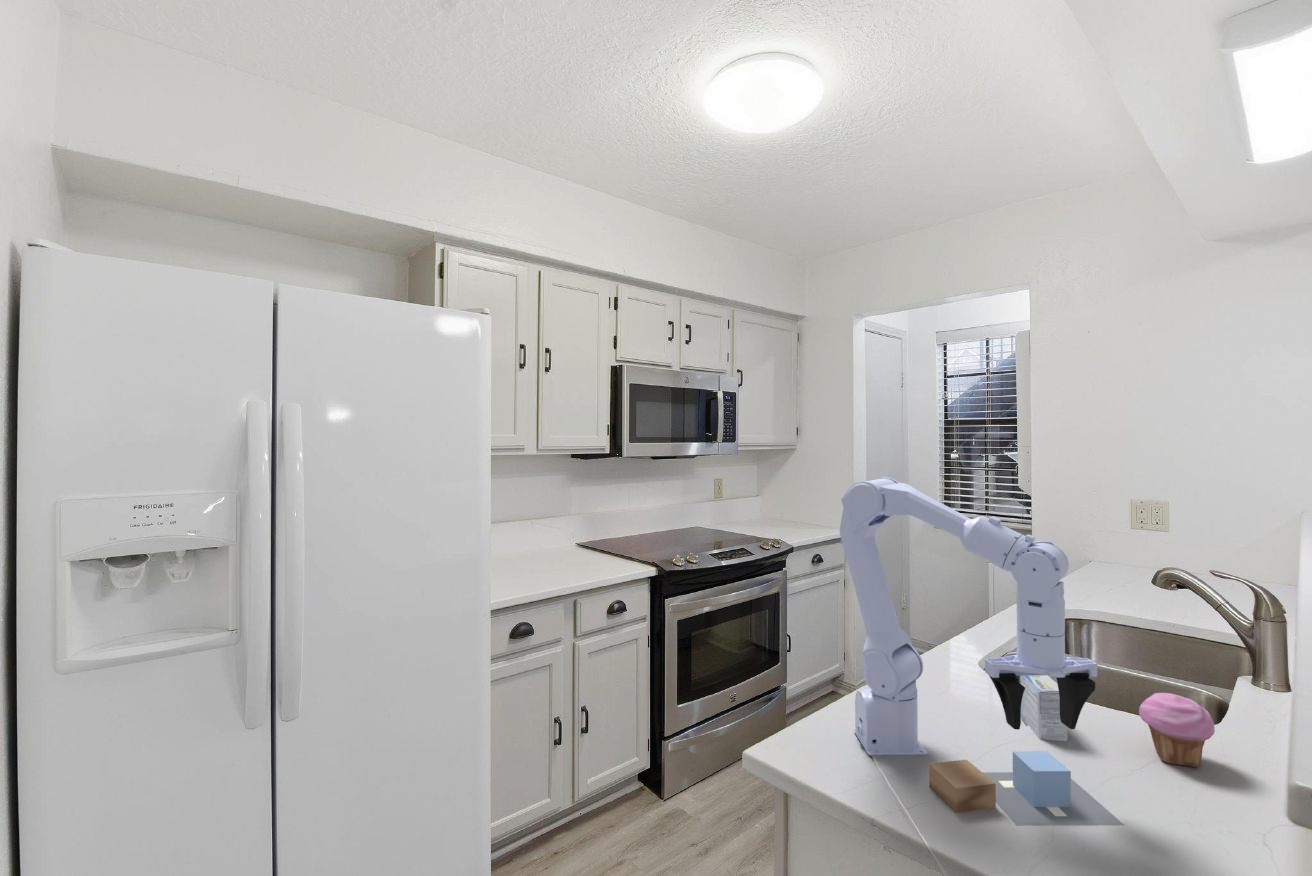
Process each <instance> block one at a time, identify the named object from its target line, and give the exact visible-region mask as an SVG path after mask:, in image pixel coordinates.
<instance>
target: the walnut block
mask: <svg viewBox="0 0 1312 876" xmlns="http://www.w3.org/2000/svg"><path fill="white" fill-rule="evenodd" d="M928 780H929V781H928V784H929V785H928V786H929V787H928V788H930V790H932V791H933V792H934V793H935V794H936V795H937V796H938V797H939V799H941V800H942V801H944V803H945V804H947V806H948V807H949V808H951V810H952V811H954V813H957V814H958V813H964V812H965V813H966V812H972V811H973V812H974V811H980V810H987V809H988V810H989V809H996V807H997V806H996V805H997V803H996V783H994V782H993V781H992V780H991V779H990V778H988V777H987V776H986V775H985V774H984V773H982V771H981V770H980V769H979V768H977V767H976V766H975V765H974V764H972V763H971V762H970V761H969V760H968V759H960V760H959V759H958V760H950V761H949V760H948V761H940V762H933V763H932V762H930V763H928Z"/></svg>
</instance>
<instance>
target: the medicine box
mask: <svg viewBox="0 0 1312 876" xmlns="http://www.w3.org/2000/svg"><path fill="white" fill-rule="evenodd" d="M1019 680H1020V681H1019V683H1020V684H1021V685H1023V686H1024V687H1025V690H1024V693H1023V697H1022V702H1021V721H1023V723H1025V725H1026V726H1027V727H1029V728H1030V730H1031V731H1032V732H1033V733H1034V735H1035V736H1036V737H1037V738H1038V739H1039V740H1045V741H1057V742H1058V741H1059V742H1068V740H1069V739H1068V738H1069V737H1068V727H1067V726H1066V725H1064V724H1063V723H1062V722H1061V719H1060V697H1059V689H1058V684H1057V681H1054V680H1053V678H1052V677H1050V676H1048V675H1022V676H1020V677H1019Z"/></svg>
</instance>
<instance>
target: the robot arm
mask: <svg viewBox="0 0 1312 876" xmlns="http://www.w3.org/2000/svg"><path fill="white" fill-rule="evenodd" d="M840 501H841V504H842V507H843V508H842V514H841V520H840V523H839V535H840V540H841V544H842V547H843V549H844V554H845V557H846V562H847V565H848V569H849V572H850V576H851V579H852V582H853V587H854V590H855V594H856V597H857V602H858V604H859V607H860V608H859V609H860V613H861V616H862V619H863V623H864V626H865V631H866V634H867V635H866V639H865V643H864V646H863V648H862V649H863V650H862V654H863V658H864V666H863V679H864V680H865V683H866V685H867V686H868V687H867V688H865V689H860V690H859V689H858V690H857V691H856V692H855V697H854V704H855V705H854V706H855V709H854V711H855V714H854V715H855V717H854V718H855V719H854V720H855V724H854V725H855V728H854V730H853V731H854V735H855V736H856V737H857V738H858V740H859V741H860V743H861V745H862V747H863V748H864V750H865V751H866V753H867V755H868V756H871V757H873V756H915V755H918V756H920V755H921V756H923V755H924V756H926V755H928V754H929V752H928V751H927V749H926V748H925V747H924V746H923V744H922V743H921V742H920V741H919V736H918V735H919V733H918V732H919V731H918V730H919V727H918V723H919V722H918V719H919V717H918V711H919V710H918V688H917V680H918V679H919V678H920V677H921V676H922V675H923V672H924V662H923V660H922V656H921V655H920V653H919V652H918V651H917V650H916V648H915V647H914V646H913V645H914V644H913V643H912V640H911V636H910V635H908V633H906V632H905V631H904V630H903V628H901V626H900V623H899V619H898V616H897V612H896V607H895V605H894V601H893V598H892V595H891V591H890V587H889V583H888V579H887V577H886V573H885V570H884V569H885V568H884V566H883V563H882V558H881V556H880V552H879V549H878V544H877V542H876V539H875V538H876V537H875V536H876V535H877V533H878V531H879V530H880V528H881V527H882V525H883V524H884V523H885V521H886V520H888V519H889V518H890V517H892V516H905V515H906V516H907V515H908V516H912V517H914V518H916V519H918V520H920V521H922V522H924V523H927V524H929V525H931V526H933V527H936V528H937V529H940V530H942V531H945V532H946V533H949V534H951V535H953V536H955V537H958V538H959V540H960V542H961V544H962V546H963V549H964V550H966V551H967V552H969V553H971V554H972V555H974V556H977V557H978V558H981V559H983V560H984V561H987V562H989V563H991V564H992V565H994V566H995V567H998V568H1000V569H1002V570H1004V571H1006V572H1011V573H1010V574H1011V576H1012V577H1013V579H1014V581H1016V583H1017V585H1016V586H1017V591H1016V592H1017V595H1016V654H1012V655H1011V654H1010V655H1006V656H1001V657H994V658H984V673H986V674H987V675H988V676H989V678H990V680H991V681H992V684H993V685H994V687H995V689H996V691H997V694H998V696H999V699H1000V701H1001V705H1002V708H1003V712H1004V716H1005V720H1006V724H1008V726H1010V727H1011V728H1013V729H1014V730H1020V729H1021V724H1022V723H1021V722H1022V719H1021V702H1022V697H1023V693H1024V690H1025V687H1024V686H1023V685H1021V684H1020V681H1019V678H1017V676H1022V675H1048V676H1049V677H1050V678H1056V683H1057V684H1058V689H1059V697H1060V719H1061V722H1062V723H1063V724H1064V725H1066V726H1067V729H1068V730H1076V726H1077V724H1078V720H1079V718H1080V714H1081V712H1082V709H1083V707H1084V706H1085V704H1086V702H1087V700H1088V699H1089V697H1090V696H1091V695H1092V694H1093V692H1095V690H1096V682H1095V681H1094V680H1093V679H1091V678H1098V663H1097V662H1096V661H1093V660H1092V659H1089V658H1088V657H1085V658H1083V657H1071V656H1066V601H1065V596H1064V595H1065V589H1064V587H1065V585H1064V583H1065V582H1064V581H1063V580H1062V579H1064V578H1065V576H1066V575H1067V573H1068V571H1069V567H1070V566H1069V559H1068V556H1067V555H1066V553H1065V552H1064V551H1063V550H1062V549H1061V548H1060V547H1058V546H1056V545H1055V544H1054V542H1051V541H1047V540H1038V541H1035V540H1036V537H1035V536H1034V535H1032V534H1026V535H1025V534H1022V533H1020V532H1018V531H1016V530H1013V529H1011V528H1010V527H1007V526H1005V525H1003V524H1002V523H1001V522H1002V519H1001V518H998V517H996V516H994V515H993V516H990V517H989V518H988V517H986V516H983V515H981V516H977V517H974V518H969V517H968V516H966V515H964V514H962V513H960V512H959V511H957V510H955V509H953V508H951V507H950V506H948V505H946V504H944V503H942V502H940V501H938V500H936V499H935V498H932V497H931V496H928V495H927V494H925V493H924V492H921V491H919V490H918V489H916V488H914V487H912V485H910V484H908V483H904V482H898V481H897V480H896V479H894V478H892V477H888V476H887V477H884V476H883V477H880V478H878V479H872V480H859V481H856V482H854V483H852V484H851V485H849V487H848V489H847V490H846V491H845V493H844V495H842V497H841V500H840ZM1061 580H1062V581H1061Z"/></svg>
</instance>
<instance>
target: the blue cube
mask: <svg viewBox="0 0 1312 876" xmlns="http://www.w3.org/2000/svg"><path fill="white" fill-rule="evenodd" d="M1012 772H1013V786H1014V787H1015V788H1016V789H1017V790H1018V791H1019V792H1020V793H1021V795H1022V796H1023V797H1024V798H1025V799H1026V800H1027V801H1028V802H1029V803H1030V804H1031V805H1032V806H1033V807H1071V779H1072V778H1071V777H1072V775H1071V774H1072V772H1071V770H1070V769H1069V768H1068V767H1067V766H1066V765H1064V764H1063V763H1062V762H1061V761H1060V760H1059V759H1057V758H1056V757H1055V756H1053V755H1052V754H1051V753H1050V752H1049V751H1048V750H1047V751H1045V750H1044V751H1043V750H1041V751H1037V750H1036V751H1035V750H1034V751H1027V750H1024V751H1023V750H1022V751H1021V750H1019V751H1016V750H1015V751H1014V750H1013V751H1012Z"/></svg>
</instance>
